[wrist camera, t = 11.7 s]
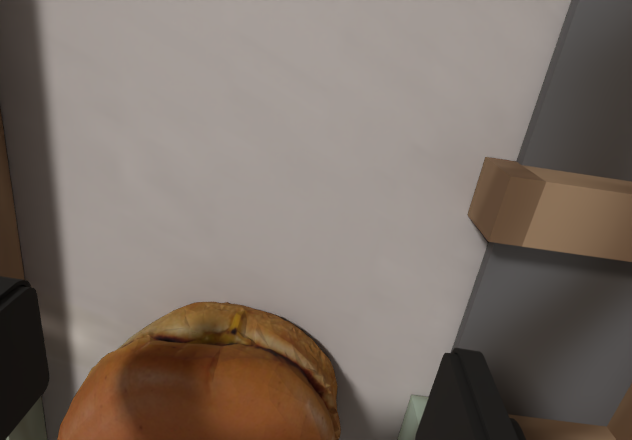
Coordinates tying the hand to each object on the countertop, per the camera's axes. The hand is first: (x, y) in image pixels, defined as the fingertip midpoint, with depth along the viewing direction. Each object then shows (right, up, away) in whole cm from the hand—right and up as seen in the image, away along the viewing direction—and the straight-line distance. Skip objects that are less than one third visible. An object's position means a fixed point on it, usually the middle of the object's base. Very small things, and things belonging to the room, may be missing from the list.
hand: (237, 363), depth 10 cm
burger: (-2, -4, +8) cm, 9 cm away
